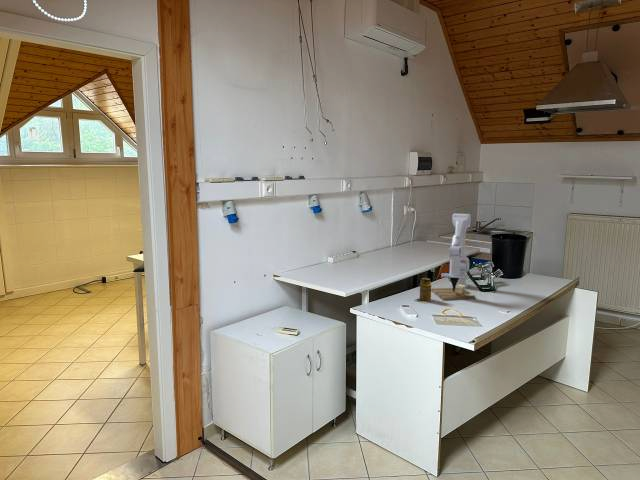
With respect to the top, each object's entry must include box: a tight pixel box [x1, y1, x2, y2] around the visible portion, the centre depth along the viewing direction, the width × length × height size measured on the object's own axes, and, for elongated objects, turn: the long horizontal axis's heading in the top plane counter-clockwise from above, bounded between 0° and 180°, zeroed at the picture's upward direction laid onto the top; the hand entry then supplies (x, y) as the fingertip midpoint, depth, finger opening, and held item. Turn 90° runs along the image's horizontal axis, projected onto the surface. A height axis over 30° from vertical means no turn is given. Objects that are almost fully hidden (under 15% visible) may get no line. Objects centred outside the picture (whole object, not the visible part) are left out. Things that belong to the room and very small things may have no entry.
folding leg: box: [455, 284, 466, 295], centre depth 267 cm, size 12×4×3 cm, turn 151°
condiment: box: [414, 277, 434, 304], centre depth 258 cm, size 7×8×12 cm
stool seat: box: [431, 287, 476, 301], centre depth 268 cm, size 18×18×2 cm
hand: (454, 290), depth 264 cm, fingers closed, pressing on folding leg
